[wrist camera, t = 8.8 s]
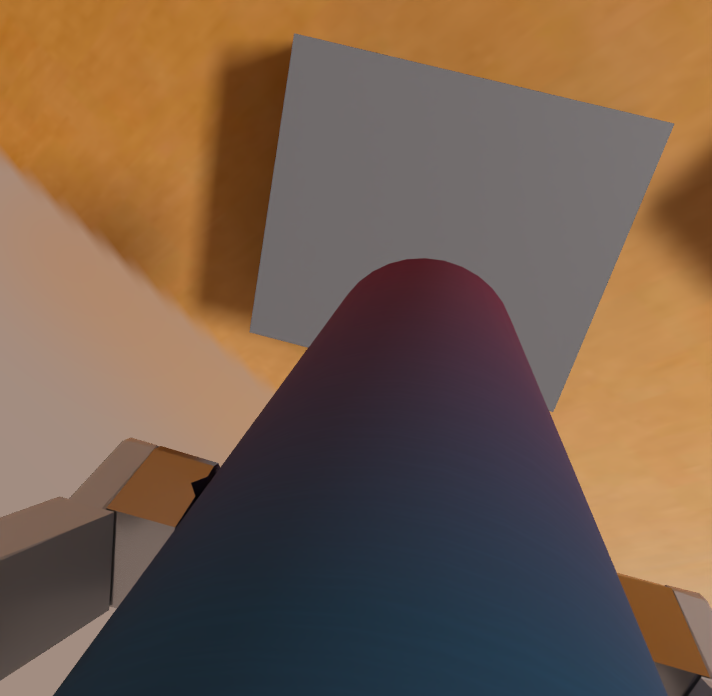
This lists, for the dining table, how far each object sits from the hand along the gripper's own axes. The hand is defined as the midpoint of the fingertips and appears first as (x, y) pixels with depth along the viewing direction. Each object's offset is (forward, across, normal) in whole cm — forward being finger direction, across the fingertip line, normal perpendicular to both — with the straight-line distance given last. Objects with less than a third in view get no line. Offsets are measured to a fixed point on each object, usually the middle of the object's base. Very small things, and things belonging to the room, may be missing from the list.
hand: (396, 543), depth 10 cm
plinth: (+25, 0, 0) cm, 25 cm away
